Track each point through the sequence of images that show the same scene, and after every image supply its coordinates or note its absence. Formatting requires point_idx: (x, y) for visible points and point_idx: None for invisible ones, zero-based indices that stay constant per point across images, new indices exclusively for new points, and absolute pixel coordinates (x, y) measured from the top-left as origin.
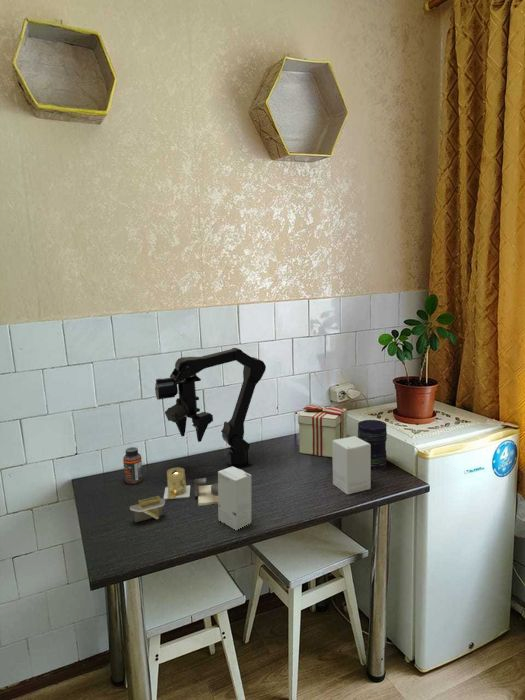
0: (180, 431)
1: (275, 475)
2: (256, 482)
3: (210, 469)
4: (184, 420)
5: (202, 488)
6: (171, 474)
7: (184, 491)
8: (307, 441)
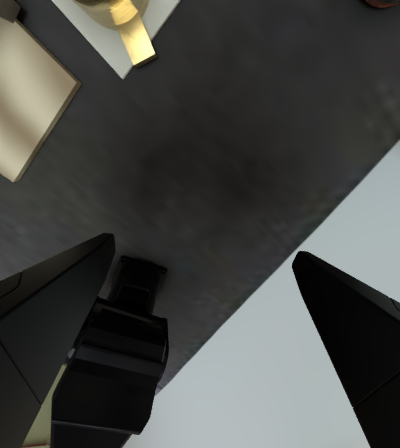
0: (330, 272)
1: (15, 273)
2: (2, 224)
3: (175, 221)
4: (373, 406)
5: (43, 71)
6: None
7: None
8: (53, 387)
